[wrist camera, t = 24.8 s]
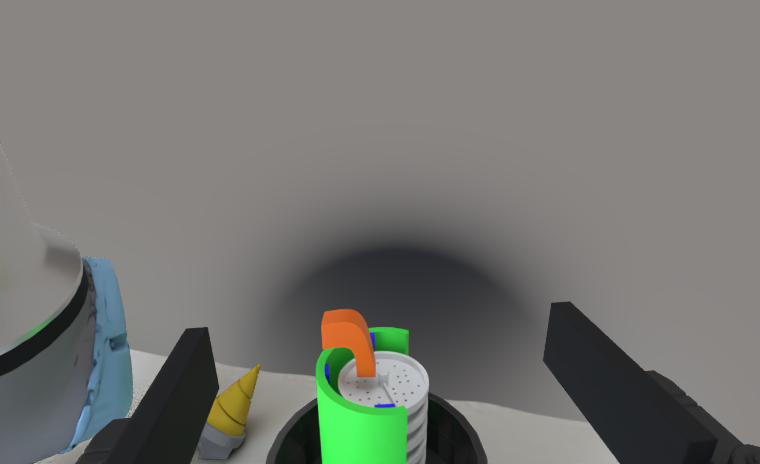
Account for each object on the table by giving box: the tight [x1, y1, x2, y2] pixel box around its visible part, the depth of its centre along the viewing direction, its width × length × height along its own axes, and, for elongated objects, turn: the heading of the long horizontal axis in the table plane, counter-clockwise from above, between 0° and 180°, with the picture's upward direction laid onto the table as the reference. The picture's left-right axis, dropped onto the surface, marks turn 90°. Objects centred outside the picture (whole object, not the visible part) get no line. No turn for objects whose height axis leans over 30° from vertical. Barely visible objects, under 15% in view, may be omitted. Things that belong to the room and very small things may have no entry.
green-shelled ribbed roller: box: [316, 309, 429, 464], centre depth 29 cm, size 9×8×18 cm
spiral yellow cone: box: [197, 364, 261, 459], centre depth 39 cm, size 5×5×10 cm
